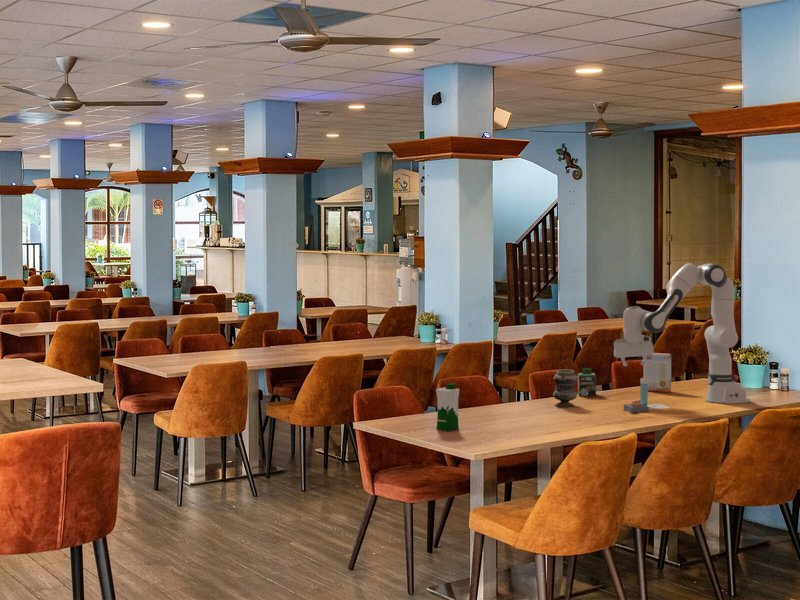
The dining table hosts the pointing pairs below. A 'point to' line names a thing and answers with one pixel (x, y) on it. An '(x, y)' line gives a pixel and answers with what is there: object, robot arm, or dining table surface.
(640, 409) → the button housing
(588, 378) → the chalk box
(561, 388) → the apothecary jar
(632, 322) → the robot arm
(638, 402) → the button
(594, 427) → the dining table surface
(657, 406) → the picture board
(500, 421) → the dining table surface
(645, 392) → the marker
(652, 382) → the cracker box
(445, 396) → the milk carton
